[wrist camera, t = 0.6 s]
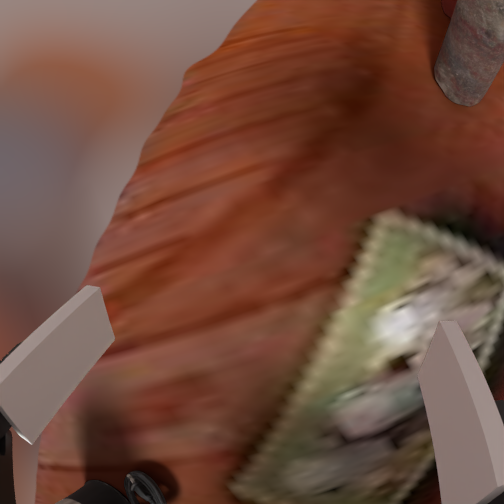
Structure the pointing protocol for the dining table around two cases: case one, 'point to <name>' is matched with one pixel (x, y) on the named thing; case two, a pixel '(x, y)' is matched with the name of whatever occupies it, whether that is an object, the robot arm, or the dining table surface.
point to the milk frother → (109, 499)
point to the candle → (471, 50)
